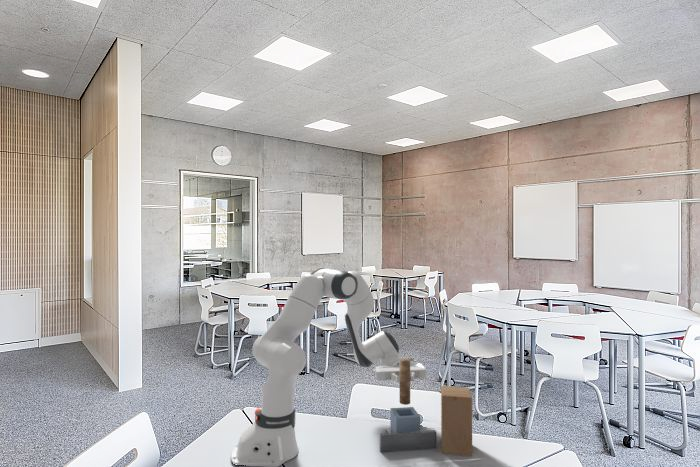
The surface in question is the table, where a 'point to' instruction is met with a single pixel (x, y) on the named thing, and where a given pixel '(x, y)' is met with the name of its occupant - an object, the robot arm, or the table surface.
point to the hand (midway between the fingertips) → (405, 379)
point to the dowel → (404, 381)
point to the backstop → (407, 440)
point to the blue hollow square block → (404, 420)
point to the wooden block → (456, 420)
